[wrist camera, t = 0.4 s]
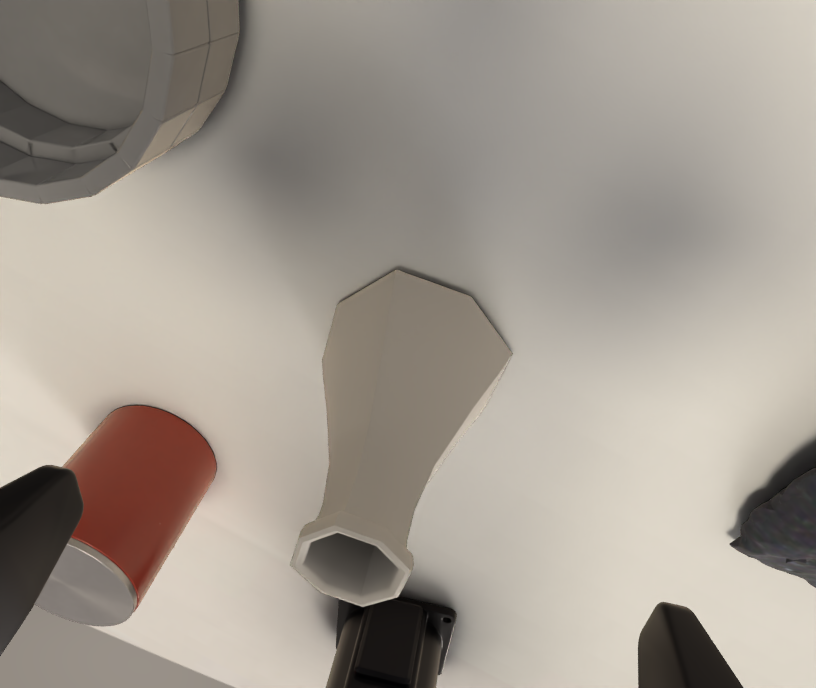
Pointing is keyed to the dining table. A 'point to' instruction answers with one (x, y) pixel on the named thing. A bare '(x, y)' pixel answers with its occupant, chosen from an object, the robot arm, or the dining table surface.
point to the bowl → (104, 88)
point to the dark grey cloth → (785, 530)
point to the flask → (392, 425)
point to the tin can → (127, 512)
